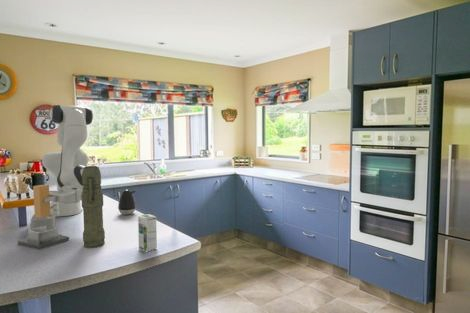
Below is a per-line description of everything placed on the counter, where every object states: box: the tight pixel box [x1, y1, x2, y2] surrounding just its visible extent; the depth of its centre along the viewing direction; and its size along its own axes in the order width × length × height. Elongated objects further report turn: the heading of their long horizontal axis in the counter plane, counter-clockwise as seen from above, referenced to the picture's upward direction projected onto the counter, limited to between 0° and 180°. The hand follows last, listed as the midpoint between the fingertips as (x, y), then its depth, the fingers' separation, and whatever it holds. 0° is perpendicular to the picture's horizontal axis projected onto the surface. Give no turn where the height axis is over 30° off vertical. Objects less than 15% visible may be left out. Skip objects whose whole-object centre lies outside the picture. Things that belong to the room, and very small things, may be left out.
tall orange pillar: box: [32, 184, 51, 218], centre depth 147 cm, size 4×4×14 cm
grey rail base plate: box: [17, 226, 70, 250], centre depth 148 cm, size 14×16×6 cm
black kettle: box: [117, 189, 137, 216], centre depth 200 cm, size 10×10×15 cm
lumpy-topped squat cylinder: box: [30, 213, 57, 230], centre depth 168 cm, size 10×13×9 cm
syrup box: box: [137, 213, 158, 253], centre depth 137 cm, size 6×6×14 cm
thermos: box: [81, 165, 106, 249], centre depth 143 cm, size 9×12×35 cm
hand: (39, 199), depth 147 cm, fingers closed on tall orange pillar, 4 cm apart
